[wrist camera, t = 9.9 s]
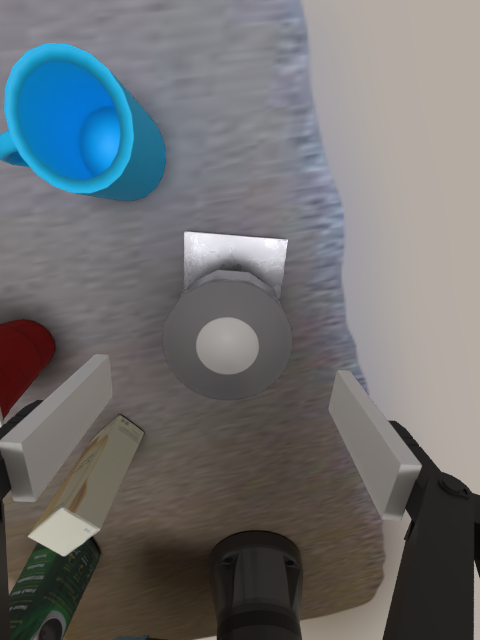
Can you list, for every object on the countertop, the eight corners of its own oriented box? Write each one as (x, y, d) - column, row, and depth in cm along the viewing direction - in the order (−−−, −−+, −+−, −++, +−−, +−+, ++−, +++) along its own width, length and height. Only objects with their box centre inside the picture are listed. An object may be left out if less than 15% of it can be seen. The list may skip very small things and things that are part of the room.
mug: (153, 92, 24) (112, 31, 16) (174, 194, 26) (147, 184, 19) (22, 114, 24) (-80, 65, 17) (55, 212, 27) (-18, 209, 19)
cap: (291, 275, 22) (302, 288, 18) (276, 375, 25) (283, 405, 21) (174, 266, 21) (159, 277, 17) (175, 369, 25) (162, 397, 21)
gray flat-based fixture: (269, 360, 33) (282, 421, 23) (186, 354, 32) (162, 413, 23) (285, 238, 28) (310, 249, 18) (187, 230, 28) (157, 237, 18)
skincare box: (120, 412, 35) (62, 505, 24) (146, 431, 36) (103, 529, 25) (90, 439, 37) (23, 538, 25) (116, 457, 38) (63, 560, 27)
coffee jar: (36, 528, 43) (-101, 737, 26) (82, 519, 42) (-27, 728, 25) (65, 565, 46) (-40, 773, 29) (108, 557, 46) (27, 766, 28)
